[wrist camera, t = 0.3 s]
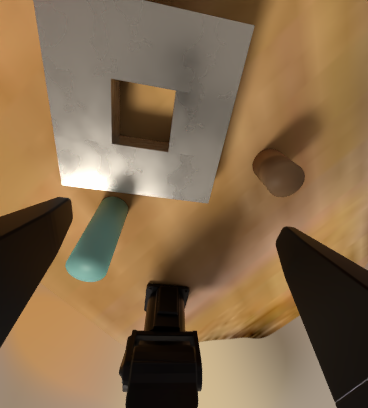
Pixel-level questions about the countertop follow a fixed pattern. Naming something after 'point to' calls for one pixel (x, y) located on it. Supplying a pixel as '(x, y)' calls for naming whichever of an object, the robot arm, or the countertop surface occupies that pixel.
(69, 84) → the socket
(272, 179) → the short peg
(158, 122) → the countertop surface
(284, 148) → the countertop surface
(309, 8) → the countertop surface
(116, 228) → the long peg
